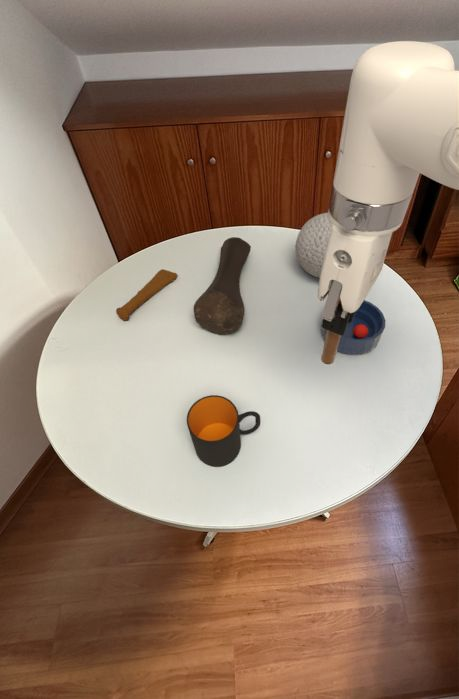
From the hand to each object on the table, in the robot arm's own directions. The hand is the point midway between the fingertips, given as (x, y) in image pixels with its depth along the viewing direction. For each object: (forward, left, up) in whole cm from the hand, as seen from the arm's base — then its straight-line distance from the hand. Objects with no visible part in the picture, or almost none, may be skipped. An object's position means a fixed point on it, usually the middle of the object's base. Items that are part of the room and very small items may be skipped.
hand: (337, 323), depth 51 cm
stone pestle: (+32, -16, -23) cm, 43 cm away
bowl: (+2, -20, -23) cm, 31 cm away
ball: (0, -20, -23) cm, 30 cm away
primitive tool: (+49, -6, -23) cm, 55 cm away
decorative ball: (+16, -36, -23) cm, 46 cm away
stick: (0, 0, -9) cm, 9 cm away
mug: (+10, +15, -23) cm, 30 cm away
